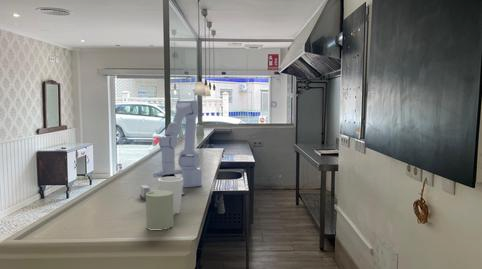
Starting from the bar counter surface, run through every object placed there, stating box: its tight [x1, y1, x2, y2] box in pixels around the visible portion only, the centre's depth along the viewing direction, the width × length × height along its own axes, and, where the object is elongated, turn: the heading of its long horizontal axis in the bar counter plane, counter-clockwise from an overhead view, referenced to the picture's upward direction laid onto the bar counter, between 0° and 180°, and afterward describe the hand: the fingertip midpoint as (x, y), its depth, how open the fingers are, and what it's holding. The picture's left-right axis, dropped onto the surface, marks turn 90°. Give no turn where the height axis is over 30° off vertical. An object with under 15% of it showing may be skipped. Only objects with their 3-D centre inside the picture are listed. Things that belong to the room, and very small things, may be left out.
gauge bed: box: [139, 184, 186, 202], centre depth 162 cm, size 18×10×5 cm, turn 118°
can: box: [145, 189, 175, 229], centre depth 120 cm, size 9×9×12 cm
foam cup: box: [157, 176, 184, 215], centre depth 136 cm, size 10×9×13 cm
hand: (168, 190), depth 164 cm, fingers closed
